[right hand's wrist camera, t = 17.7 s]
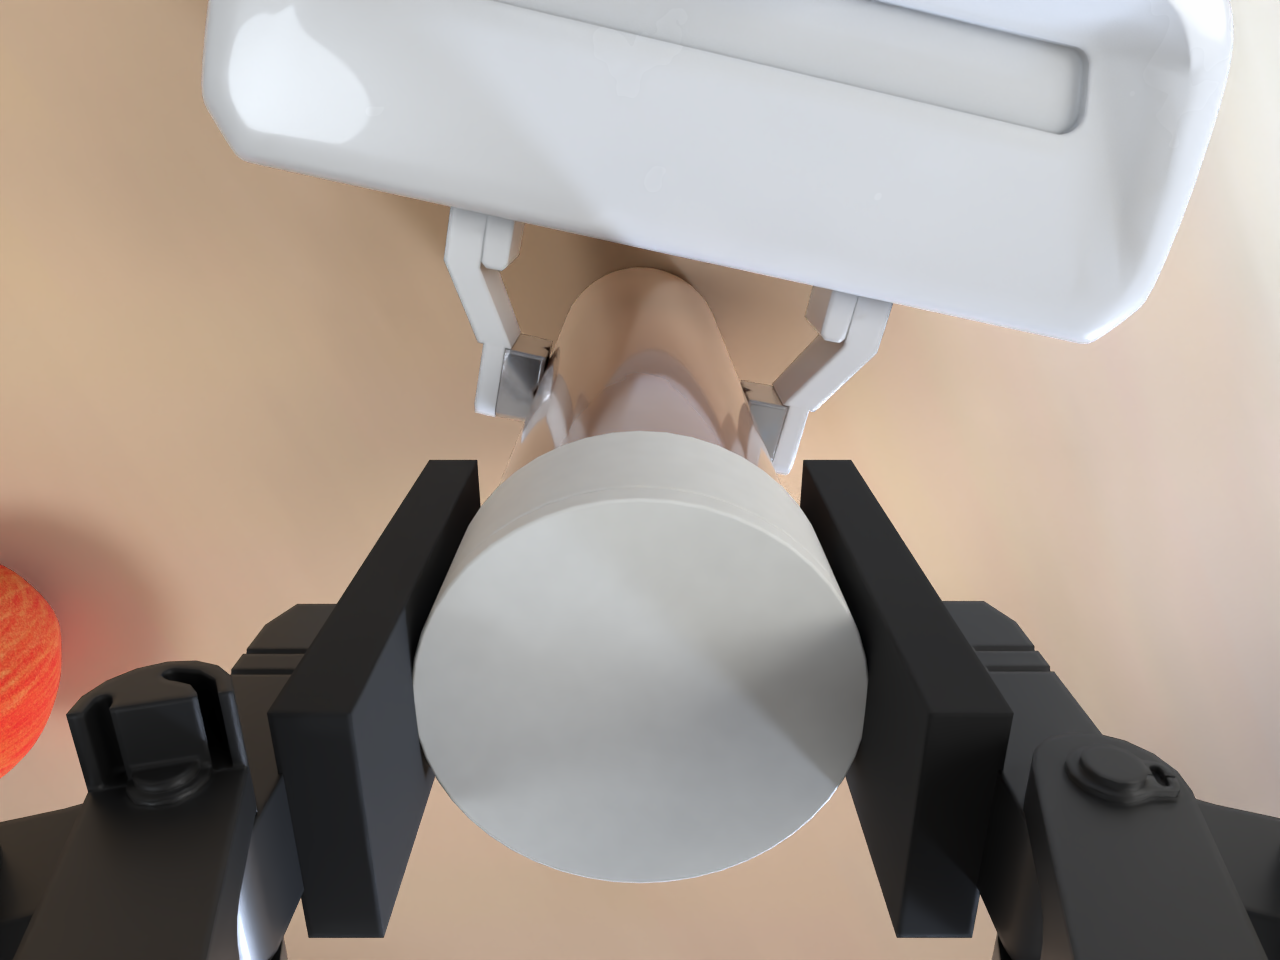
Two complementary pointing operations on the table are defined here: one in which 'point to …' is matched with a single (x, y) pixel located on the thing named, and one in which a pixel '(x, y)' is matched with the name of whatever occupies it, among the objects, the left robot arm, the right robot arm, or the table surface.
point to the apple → (25, 666)
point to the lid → (640, 662)
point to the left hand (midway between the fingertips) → (634, 438)
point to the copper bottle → (640, 372)
